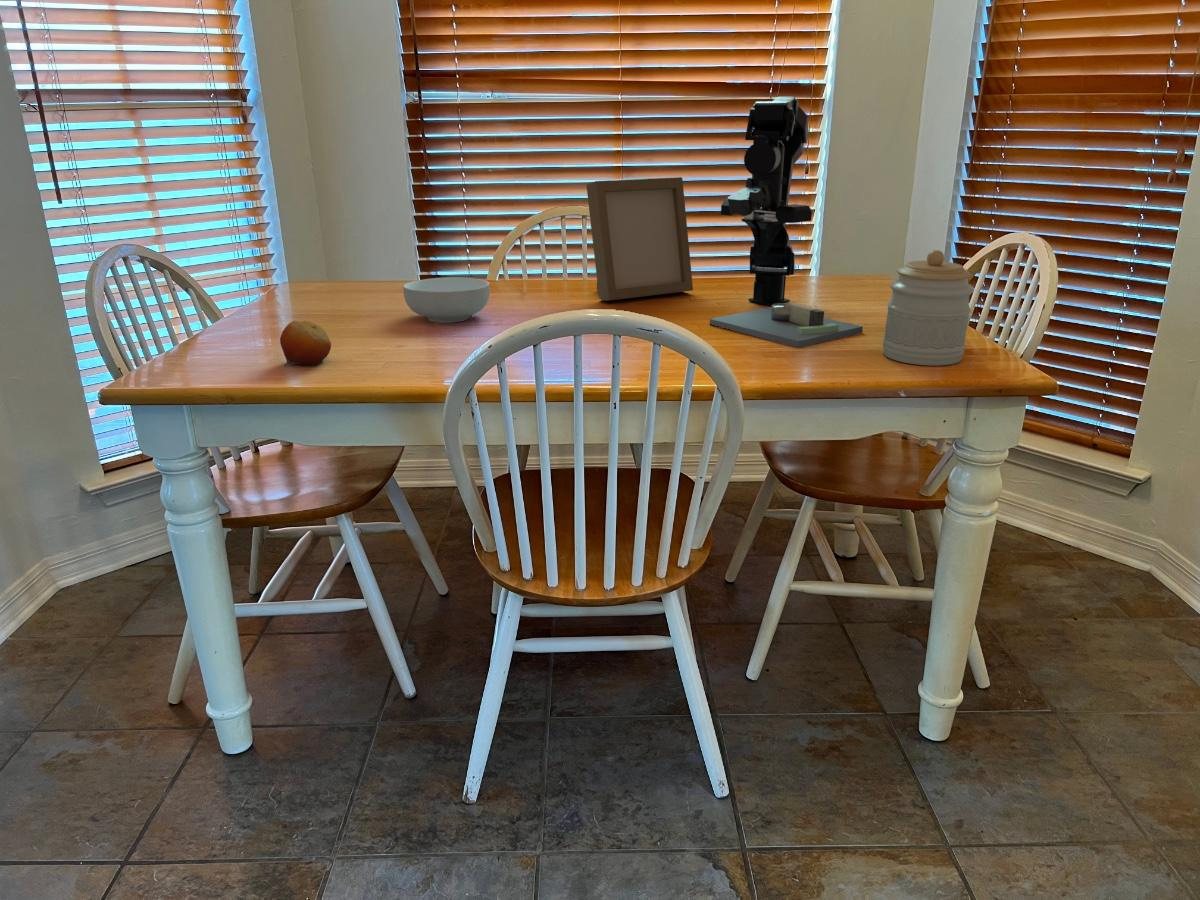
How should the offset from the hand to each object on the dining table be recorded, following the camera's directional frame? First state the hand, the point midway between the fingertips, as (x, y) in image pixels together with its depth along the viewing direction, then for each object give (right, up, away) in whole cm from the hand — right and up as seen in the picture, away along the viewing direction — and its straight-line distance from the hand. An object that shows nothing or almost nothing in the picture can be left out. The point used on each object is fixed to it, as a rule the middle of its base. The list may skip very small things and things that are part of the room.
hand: (762, 255), depth 169 cm
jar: (+22, -23, -24) cm, 40 cm away
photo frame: (-24, -3, +26) cm, 36 cm away
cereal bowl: (-62, -12, +4) cm, 63 cm away
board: (+3, -15, -6) cm, 16 cm away
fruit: (-80, -24, -27) cm, 88 cm away
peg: (+5, -14, -7) cm, 16 cm away
